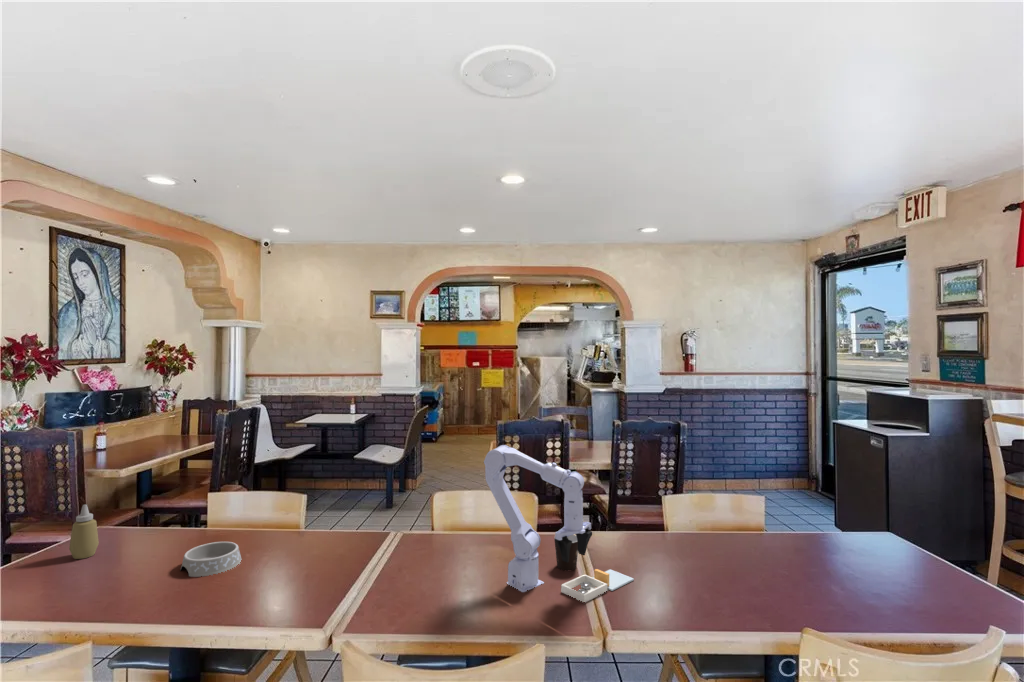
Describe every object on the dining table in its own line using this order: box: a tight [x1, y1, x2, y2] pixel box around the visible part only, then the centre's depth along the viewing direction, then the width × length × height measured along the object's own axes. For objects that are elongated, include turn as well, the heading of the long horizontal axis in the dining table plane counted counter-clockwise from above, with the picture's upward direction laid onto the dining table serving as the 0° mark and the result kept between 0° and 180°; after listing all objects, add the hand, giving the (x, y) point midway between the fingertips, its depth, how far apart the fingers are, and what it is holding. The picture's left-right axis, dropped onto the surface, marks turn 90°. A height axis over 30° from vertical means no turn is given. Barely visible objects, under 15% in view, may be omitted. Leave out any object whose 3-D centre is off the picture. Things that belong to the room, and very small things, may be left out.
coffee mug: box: [553, 534, 579, 572], centre depth 178 cm, size 12×9×10 cm
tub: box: [560, 574, 608, 603], centre depth 159 cm, size 11×9×3 cm
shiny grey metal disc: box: [578, 589, 588, 594], centre depth 157 cm, size 3×3×1 cm
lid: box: [591, 568, 635, 592], centre depth 167 cm, size 11×9×5 cm
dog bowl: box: [180, 541, 243, 578], centre depth 177 cm, size 17×18×5 cm
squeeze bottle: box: [68, 504, 100, 560], centre depth 183 cm, size 8×8×18 cm
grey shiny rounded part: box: [581, 582, 591, 590], centre depth 162 cm, size 3×3×1 cm
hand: (573, 557), depth 160 cm, fingers open, 7 cm apart
